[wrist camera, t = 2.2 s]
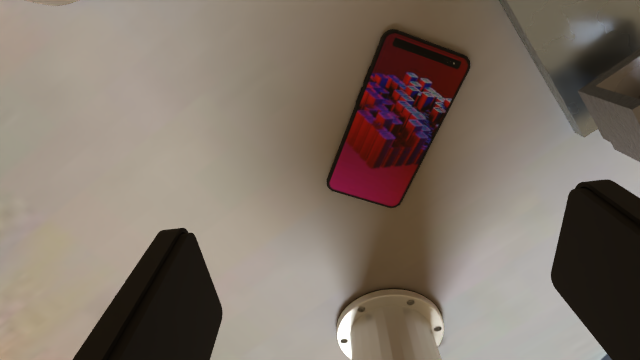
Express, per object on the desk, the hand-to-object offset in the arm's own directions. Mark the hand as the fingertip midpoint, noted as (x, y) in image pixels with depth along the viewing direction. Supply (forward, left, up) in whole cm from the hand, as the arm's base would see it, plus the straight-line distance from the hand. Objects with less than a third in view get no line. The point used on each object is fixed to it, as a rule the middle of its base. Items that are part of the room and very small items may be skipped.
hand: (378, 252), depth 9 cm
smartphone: (-6, -1, -23) cm, 24 cm away
